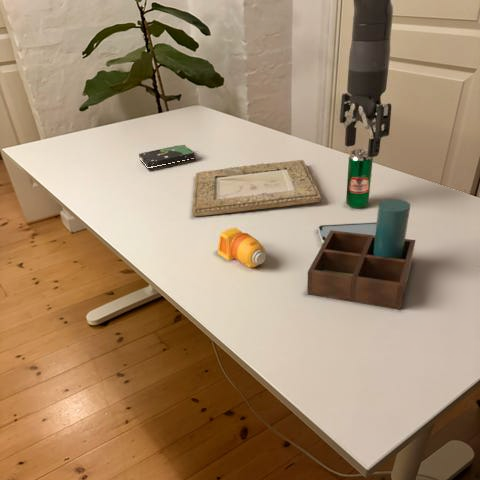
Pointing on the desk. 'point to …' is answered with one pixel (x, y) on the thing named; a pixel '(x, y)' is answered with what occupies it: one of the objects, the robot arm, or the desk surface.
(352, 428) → the desk surface
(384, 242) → the can
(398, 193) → the desk surface
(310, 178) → the picture frame
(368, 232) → the smartphone
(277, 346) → the desk surface
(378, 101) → the robot arm
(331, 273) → the brown wooden compartment tray
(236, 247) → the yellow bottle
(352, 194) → the soda can
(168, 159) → the disk drive
